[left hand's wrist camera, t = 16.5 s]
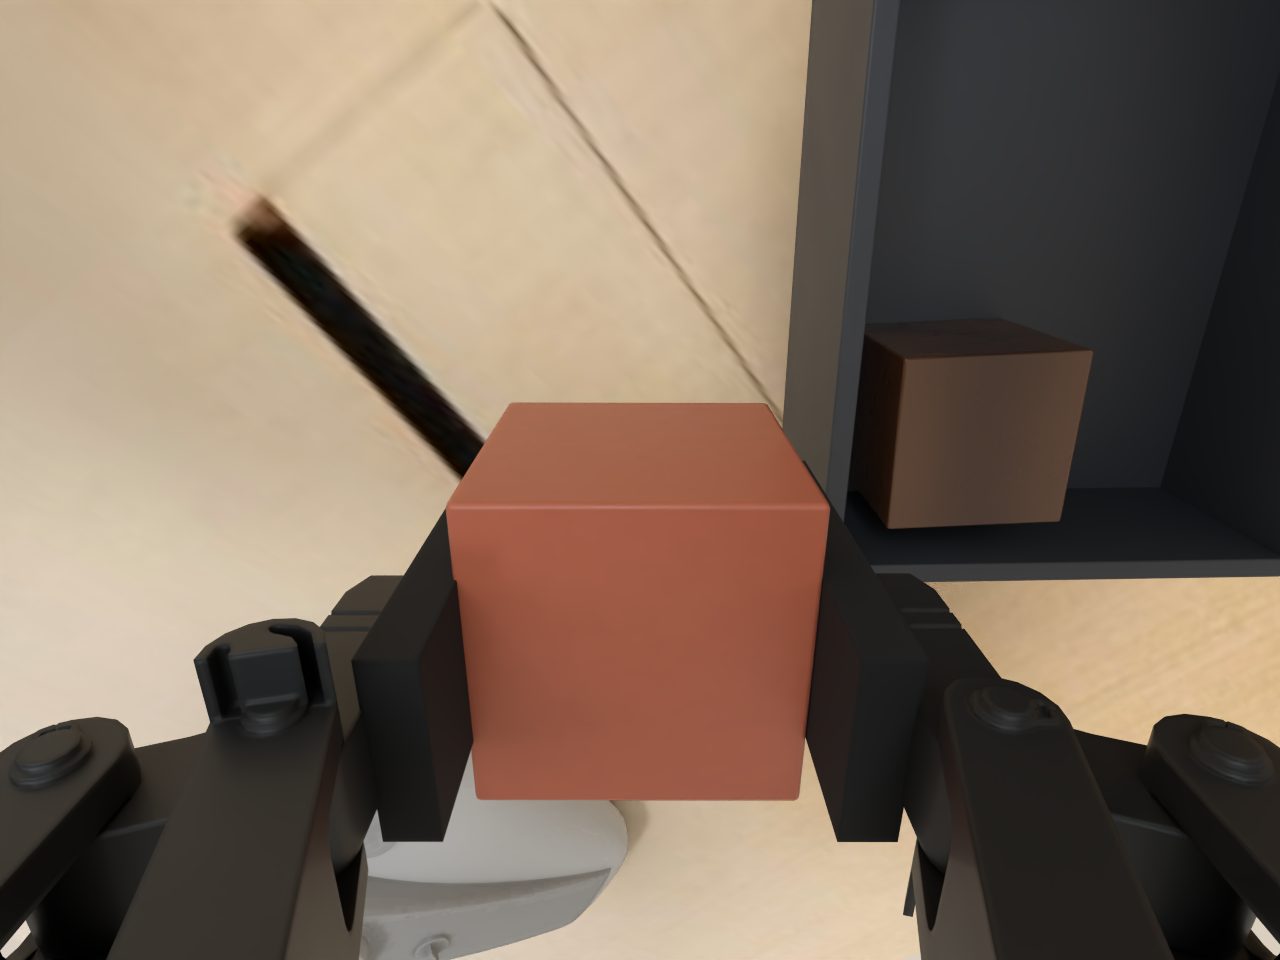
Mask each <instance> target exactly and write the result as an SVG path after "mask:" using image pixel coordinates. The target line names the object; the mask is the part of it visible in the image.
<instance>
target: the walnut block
mask: <svg viewBox="0 0 1280 960" xmlns="http://www.w3.org/2000/svg"><path fill="white" fill-rule="evenodd" d="M1093 354H1094V352H1093V350H1091V349H1088V348H1086V347H1083V346H1080V345H1077V344H1074V343H1071V342H1068V341H1066V340H1063V339H1060V338H1057V337H1054V336H1051V335H1048V334H1045V333H1043V332H1040V331H1037V330H1034V329H1031V328H1028V327H1025V326H1023V325H1020V324H1017V323H1014V322H1011V321H1008V320H1005V319H1003V318H994V319H971V320H948V321H926V322H903V323H880V324H865V332H864V341H863V351H862V360H861V369H860V378H859V387H858V396H857V406H856V415H855V424H854V433H853V442H852V451H851V461H850V470H849V479H850V480H851V481H852V483H853V484H854V485H855V487H856V488H857V489H858V490H859V492H860V493H861V494H862V496H863V497H864V498H865V500H866V501H867V502H868V504H869V505H870V506H871V507H872V509H873V510H874V511H875V513H876V514H877V515H878V517H879V518H880V519H881V521H882V522H883V523H884V525H885V526H886V527H887V528H888V529H904V528H926V527H949V526H972V525H995V524H1017V523H1040V522H1058V521H1060V519H1061V514H1062V509H1063V504H1064V499H1065V494H1066V489H1067V484H1068V479H1069V474H1070V469H1071V464H1072V459H1073V454H1074V449H1075V444H1076V439H1077V434H1078V429H1079V424H1080V419H1081V414H1082V409H1083V404H1084V399H1085V394H1086V389H1087V384H1088V379H1089V374H1090V369H1091V364H1092V359H1093Z"/></svg>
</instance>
